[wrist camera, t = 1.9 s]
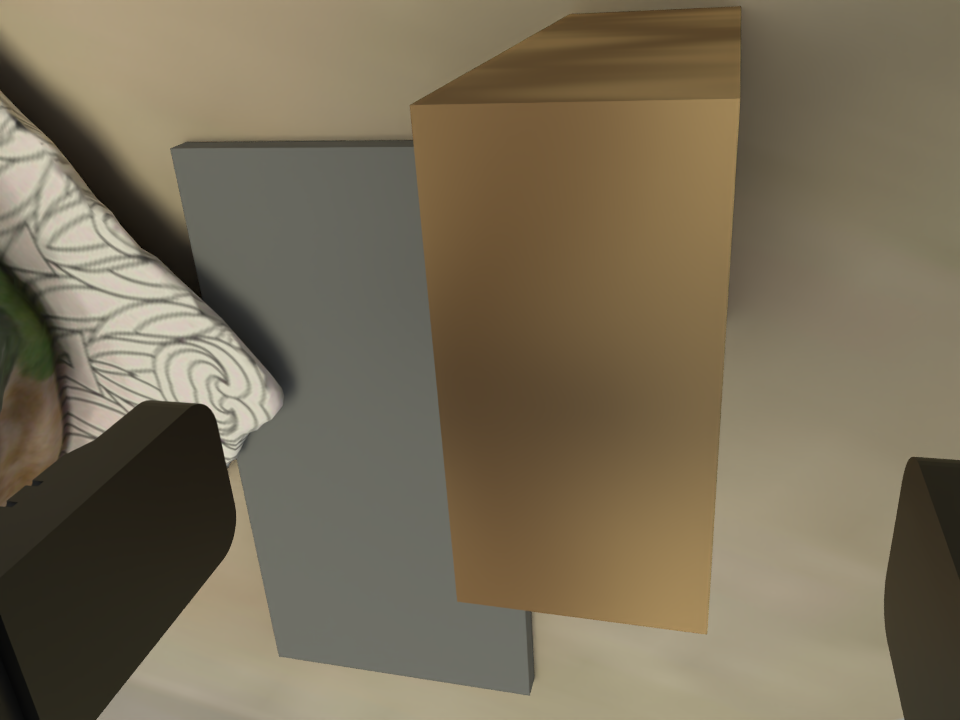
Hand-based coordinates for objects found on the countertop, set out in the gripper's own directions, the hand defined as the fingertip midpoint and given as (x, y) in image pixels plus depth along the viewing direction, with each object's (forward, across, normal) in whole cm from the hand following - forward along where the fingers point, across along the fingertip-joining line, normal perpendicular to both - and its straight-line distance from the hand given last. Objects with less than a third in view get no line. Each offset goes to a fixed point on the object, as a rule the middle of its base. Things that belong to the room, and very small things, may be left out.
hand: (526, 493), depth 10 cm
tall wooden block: (+14, 0, 0) cm, 14 cm away
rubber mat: (+14, +8, +8) cm, 19 cm away
